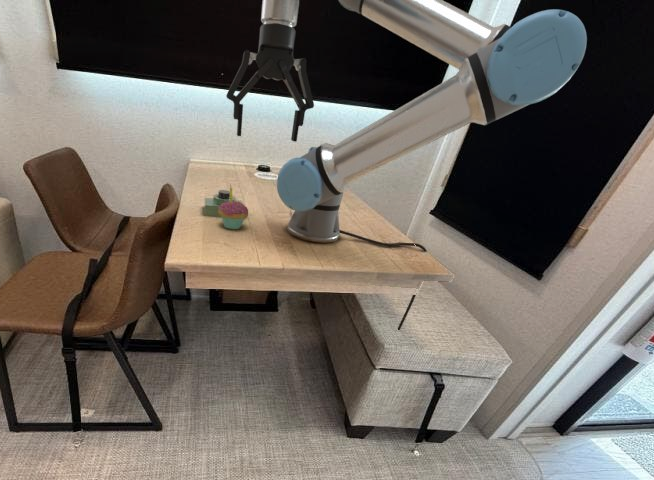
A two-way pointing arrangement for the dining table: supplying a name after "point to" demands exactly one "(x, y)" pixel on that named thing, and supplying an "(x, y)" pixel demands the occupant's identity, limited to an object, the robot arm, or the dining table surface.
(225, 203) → the cupcake
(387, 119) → the robot arm
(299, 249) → the dining table surface
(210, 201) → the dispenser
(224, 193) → the pump
